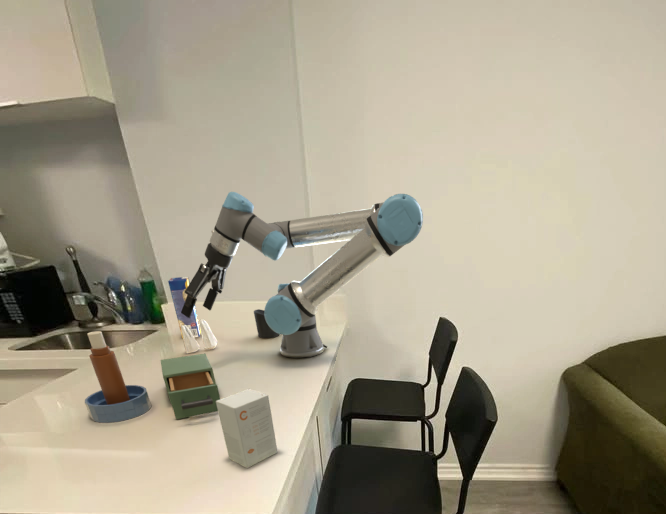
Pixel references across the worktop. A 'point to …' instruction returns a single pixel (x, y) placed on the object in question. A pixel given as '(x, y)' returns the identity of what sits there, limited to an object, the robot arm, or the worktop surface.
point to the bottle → (107, 370)
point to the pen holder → (263, 325)
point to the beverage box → (179, 299)
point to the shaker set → (207, 338)
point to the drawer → (193, 394)
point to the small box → (247, 427)
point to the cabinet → (185, 367)
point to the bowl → (118, 405)
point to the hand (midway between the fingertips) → (196, 311)
